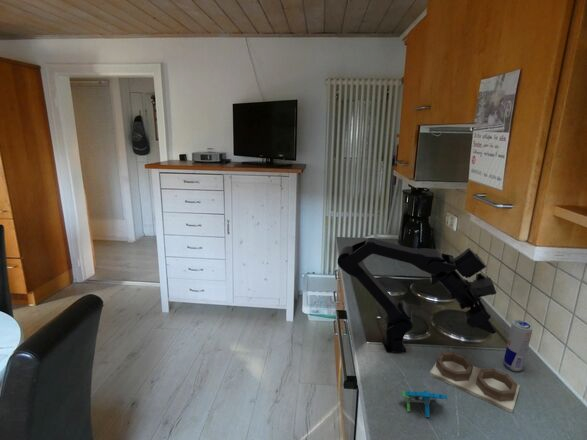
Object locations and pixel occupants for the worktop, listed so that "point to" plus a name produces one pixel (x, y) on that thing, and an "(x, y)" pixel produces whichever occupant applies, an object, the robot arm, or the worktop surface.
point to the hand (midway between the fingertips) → (490, 323)
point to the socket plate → (476, 380)
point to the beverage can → (517, 345)
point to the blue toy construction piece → (426, 399)
